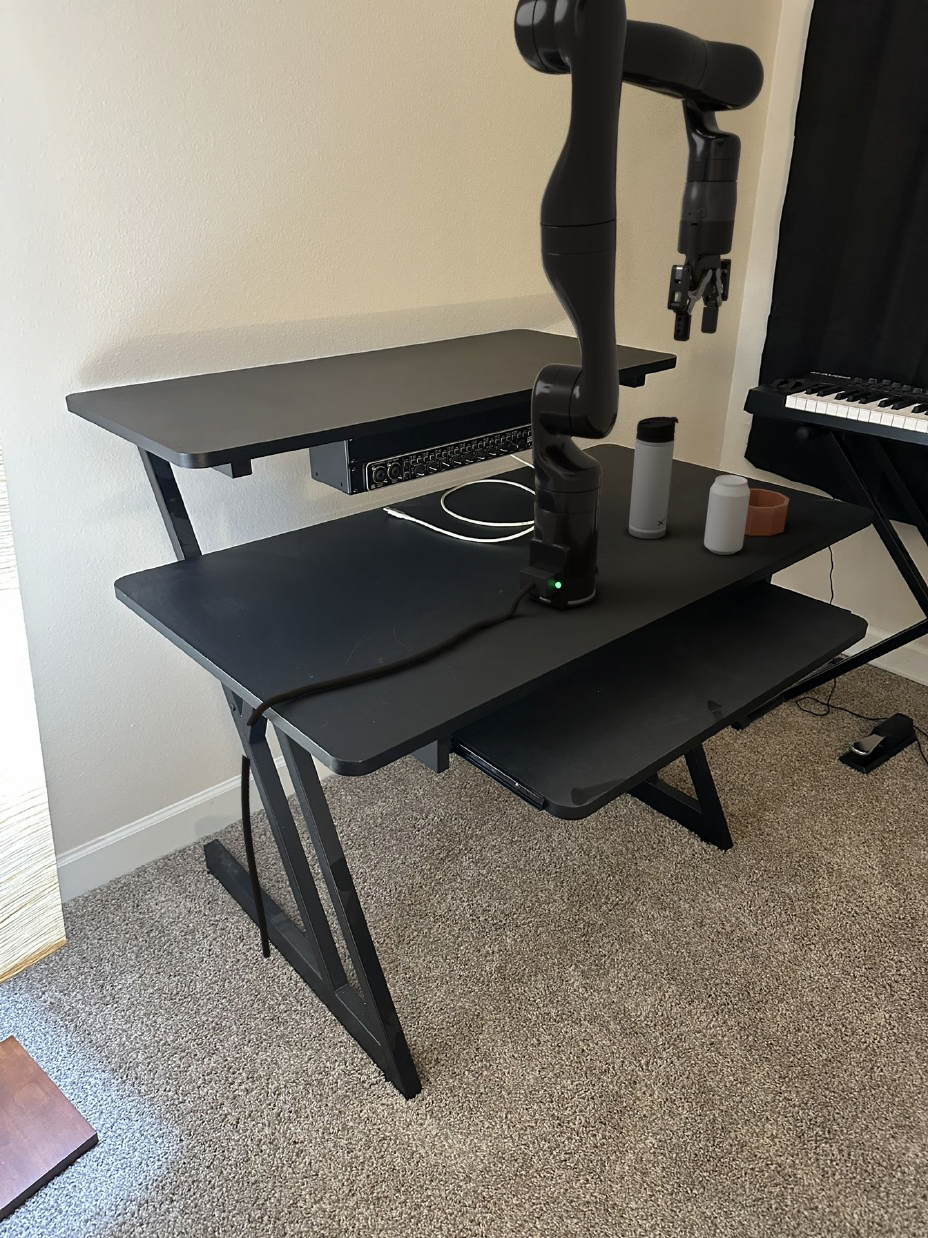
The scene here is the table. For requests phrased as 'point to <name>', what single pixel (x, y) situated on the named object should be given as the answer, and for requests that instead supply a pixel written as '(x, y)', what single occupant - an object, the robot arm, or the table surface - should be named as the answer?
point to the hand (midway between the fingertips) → (694, 336)
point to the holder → (766, 513)
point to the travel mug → (652, 477)
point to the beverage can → (727, 514)
